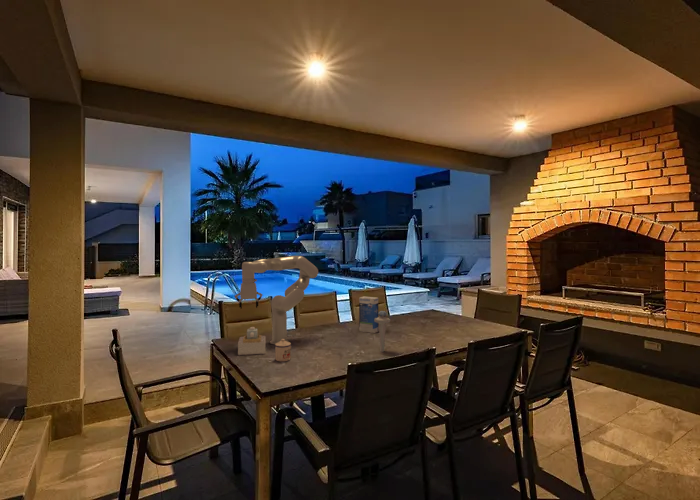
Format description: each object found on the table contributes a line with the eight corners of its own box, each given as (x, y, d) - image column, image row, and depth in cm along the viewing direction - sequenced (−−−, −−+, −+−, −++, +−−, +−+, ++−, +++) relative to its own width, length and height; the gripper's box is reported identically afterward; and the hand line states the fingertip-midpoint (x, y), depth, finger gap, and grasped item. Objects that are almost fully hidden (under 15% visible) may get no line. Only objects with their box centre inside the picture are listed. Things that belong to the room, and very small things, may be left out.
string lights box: (378, 331, 288) (379, 297, 288) (374, 333, 282) (374, 298, 281) (363, 329, 295) (363, 296, 295) (358, 331, 289) (358, 297, 288)
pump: (257, 338, 240) (257, 326, 240) (256, 341, 232) (256, 329, 232) (247, 338, 239) (247, 326, 239) (246, 341, 231) (246, 329, 231)
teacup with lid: (284, 362, 214) (284, 342, 214) (271, 360, 218) (271, 340, 218) (296, 357, 225) (296, 337, 224) (284, 354, 229) (284, 335, 229)
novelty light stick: (371, 349, 240) (371, 310, 239) (385, 348, 243) (386, 309, 242) (378, 354, 230) (378, 313, 230) (392, 352, 234) (393, 312, 233)
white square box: (265, 346, 247) (265, 333, 246) (265, 353, 231) (265, 339, 231) (240, 347, 243) (239, 334, 243) (237, 355, 228) (237, 341, 227)
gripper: (262, 280, 249) (262, 306, 249) (234, 281, 244) (234, 307, 245) (262, 281, 241) (263, 308, 242) (234, 282, 237) (234, 309, 237)
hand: (248, 307), depth 243 cm, fingers open, 9 cm apart
